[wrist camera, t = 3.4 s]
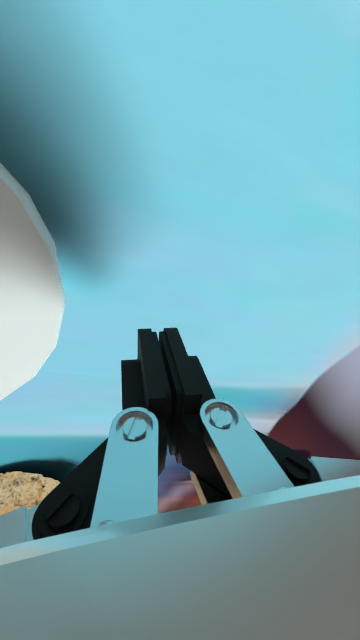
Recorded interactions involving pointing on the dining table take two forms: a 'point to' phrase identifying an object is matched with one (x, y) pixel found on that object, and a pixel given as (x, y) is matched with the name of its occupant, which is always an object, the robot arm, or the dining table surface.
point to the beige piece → (23, 490)
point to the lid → (26, 287)
